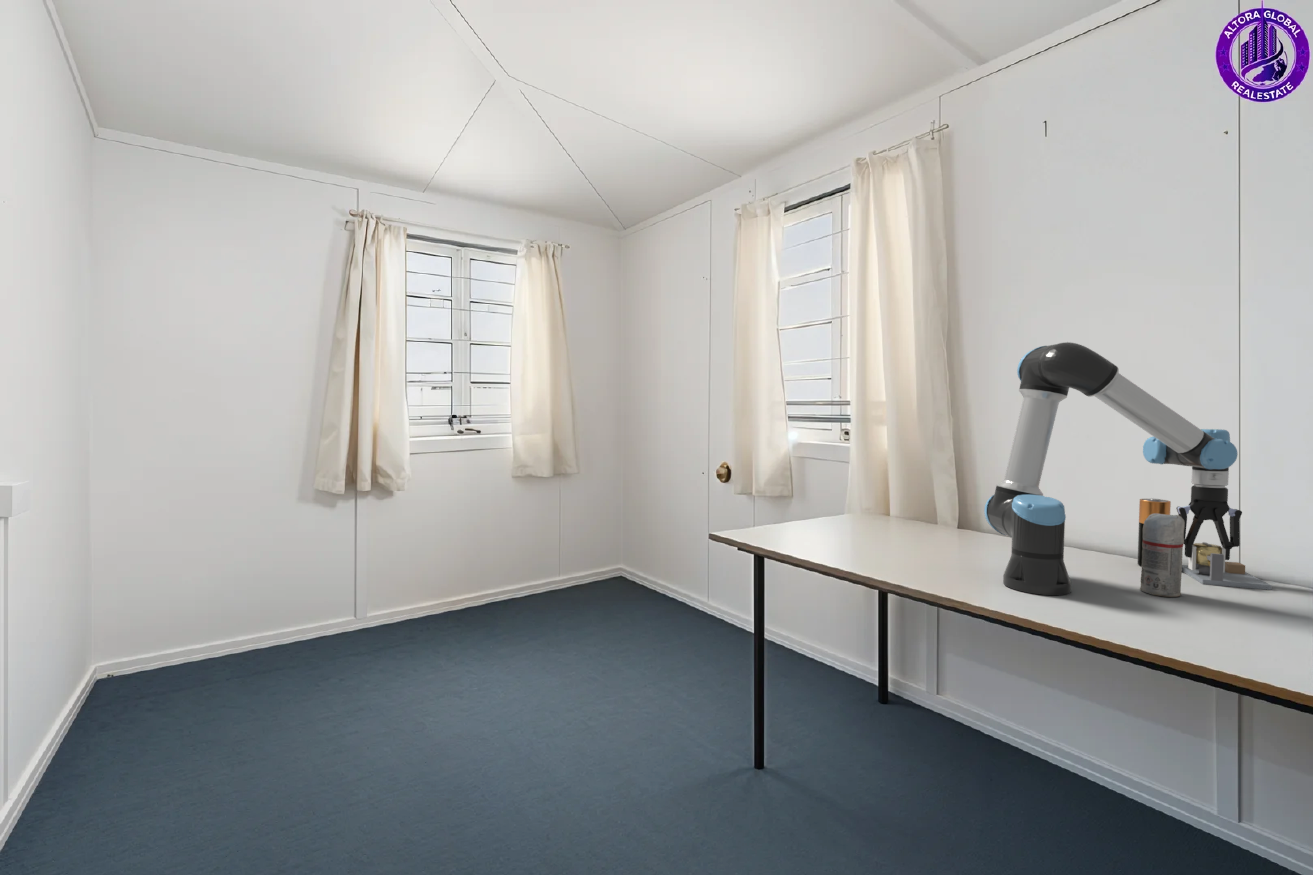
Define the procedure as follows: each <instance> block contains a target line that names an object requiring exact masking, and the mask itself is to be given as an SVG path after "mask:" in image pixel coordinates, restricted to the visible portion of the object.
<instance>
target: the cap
mask: <svg viewBox="0 0 1313 875" xmlns="http://www.w3.org/2000/svg"><path fill="white" fill-rule="evenodd" d="M1194 546H1196V564H1201V565H1208V566H1210V561H1209V560H1208V559H1207V556H1211V553H1215V554H1221V547H1222V545H1221V546H1220V545H1218V544H1214V543H1213V544H1212V543H1208V542H1205V541H1203V542H1194Z"/></svg>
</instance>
